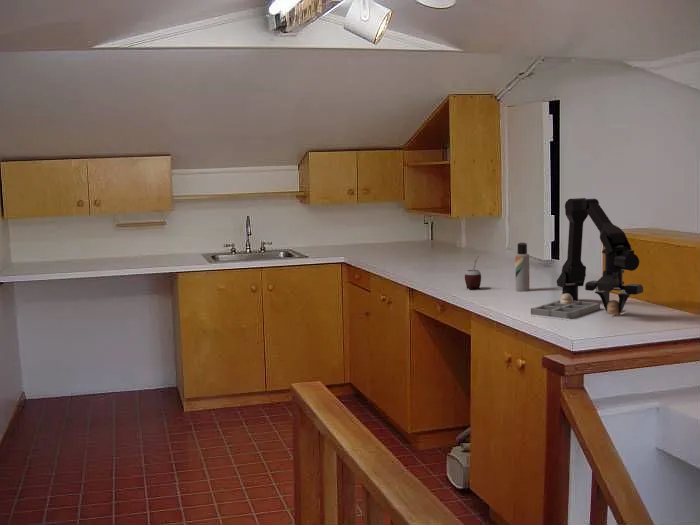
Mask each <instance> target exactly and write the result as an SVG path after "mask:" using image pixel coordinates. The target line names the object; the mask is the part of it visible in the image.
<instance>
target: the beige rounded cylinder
mask: <svg viewBox="0 0 700 525" xmlns="http://www.w3.org/2000/svg"><path fill="white" fill-rule="evenodd" d="M559 300H560V303H564V304H572V303H573V298H572V296H571V295H570V294H568V293H565V294H563V295H562V294H561V296H560V299H559Z"/></svg>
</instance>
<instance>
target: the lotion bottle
mask: <svg viewBox="0 0 700 525" xmlns="http://www.w3.org/2000/svg"><path fill="white" fill-rule="evenodd" d="M514 257H515V259H514V262H515V271H514V274H515V291H516V292H528V291H530V254H528V243H526V242H518V243H517V252H516V254H515V256H514Z"/></svg>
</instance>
